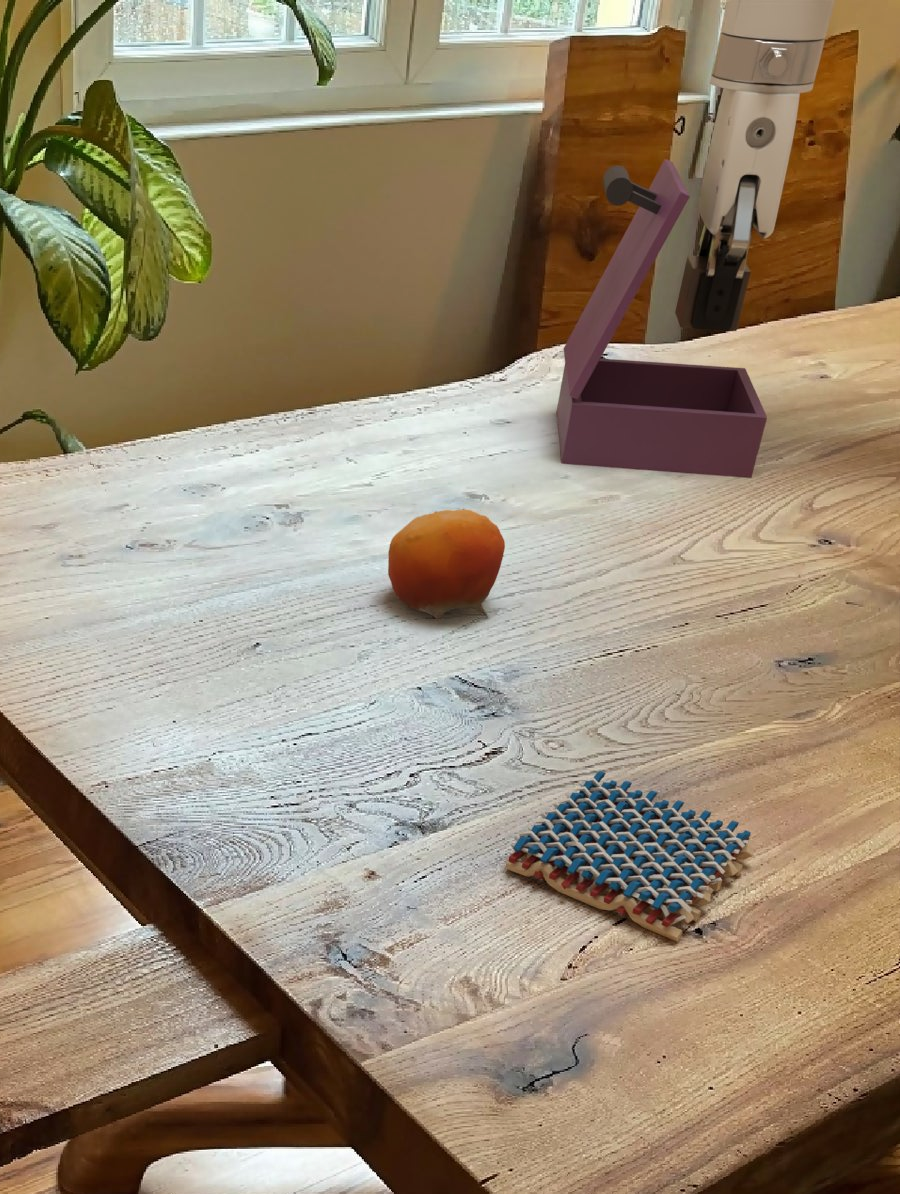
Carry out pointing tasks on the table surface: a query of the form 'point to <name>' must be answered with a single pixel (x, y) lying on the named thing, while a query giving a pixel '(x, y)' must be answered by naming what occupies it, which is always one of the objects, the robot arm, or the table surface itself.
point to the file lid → (624, 265)
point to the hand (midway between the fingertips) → (707, 317)
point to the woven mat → (630, 854)
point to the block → (690, 289)
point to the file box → (662, 419)
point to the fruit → (445, 561)
